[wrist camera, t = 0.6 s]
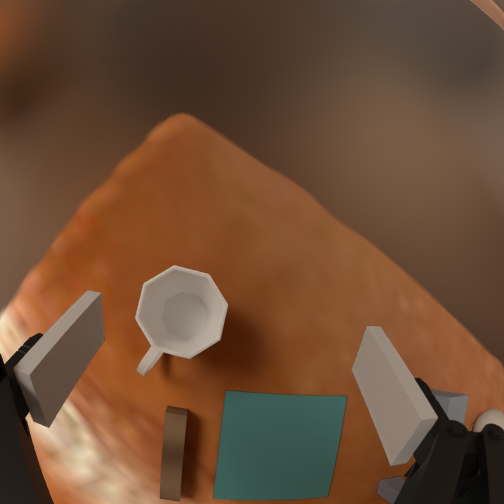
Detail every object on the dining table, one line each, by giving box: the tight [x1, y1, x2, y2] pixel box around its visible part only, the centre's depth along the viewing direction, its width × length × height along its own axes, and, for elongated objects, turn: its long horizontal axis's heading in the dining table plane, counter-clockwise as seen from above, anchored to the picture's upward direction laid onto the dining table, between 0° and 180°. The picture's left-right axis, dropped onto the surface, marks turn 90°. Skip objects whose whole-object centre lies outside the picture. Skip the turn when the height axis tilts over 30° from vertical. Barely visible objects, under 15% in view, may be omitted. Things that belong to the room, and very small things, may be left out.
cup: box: [135, 265, 228, 376], centre depth 26 cm, size 7×10×8 cm
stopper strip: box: [160, 406, 188, 501], centre depth 26 cm, size 10×2×2 cm, turn 173°
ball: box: [473, 409, 504, 432], centre depth 30 cm, size 6×6×6 cm
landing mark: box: [213, 390, 347, 500], centre depth 28 cm, size 13×13×1 cm
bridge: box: [377, 389, 469, 504], centre depth 26 cm, size 3×14×9 cm, turn 174°
